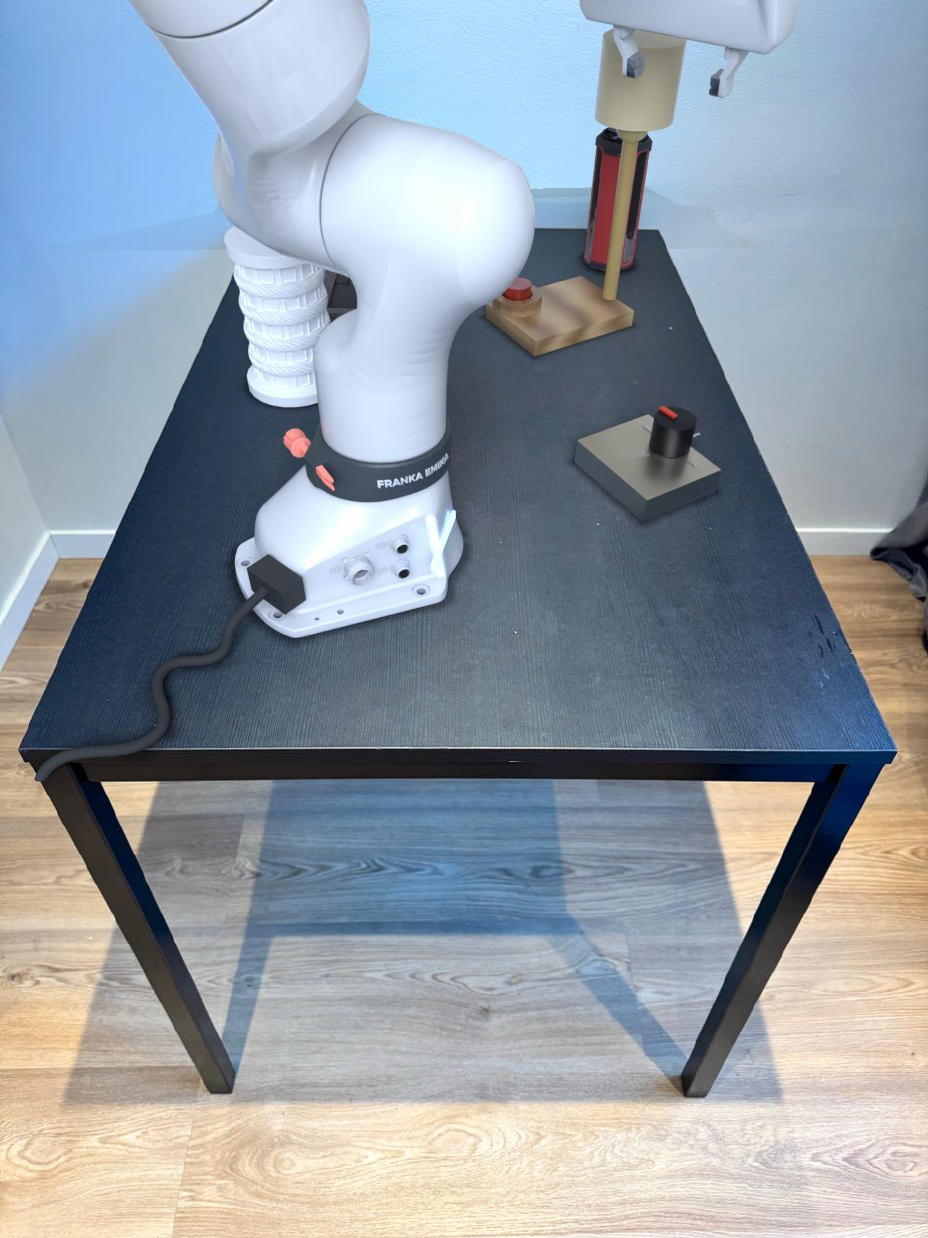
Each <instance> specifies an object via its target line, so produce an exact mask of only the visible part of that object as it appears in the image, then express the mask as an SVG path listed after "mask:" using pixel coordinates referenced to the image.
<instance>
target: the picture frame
mask: <svg viewBox="0 0 928 1238" xmlns="http://www.w3.org/2000/svg"><path fill="white" fill-rule="evenodd" d="M324 270H325V277H324V281H323V282H324V286H325V288H326V291H327V294H328V296H327V297H328V303H327V307H326V309H327V312H328V315H329V317H330V320H331V322H330V323H332V322H333V321H334V320H335V319H337V318H338V317H340V316H341V315H343V314H345V313H347V312H350V311H352V310H355V309H357V293H356V290H355V287H354V285H353V282H352V281H351V279H350V278H349V277H347V276H344V275H341V274H338V273H335V272H332V271H329V270H326V269H324Z"/></svg>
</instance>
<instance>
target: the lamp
mask: <svg viewBox="0 0 928 1238" xmlns="http://www.w3.org/2000/svg"><path fill="white" fill-rule="evenodd" d="M633 35H634V39H635V42H636V45H637V48H638V51H639V52H643V53H645V61H644V65H645V69H644V72H643V74H642V75H641V76H638V78H637V79H635V78H630V77H625V76H623V75H622V67H623V58H622V57H621V55H620V52H619V50H618V48H617V45H616V43H615V41H614V38H613V28H611V29H608V30H606V31H604V32H603V34H602V40H601V41H602V42H601V52H600V60H599V70H598V79H597V86H596V88H597V89H596V98H595V107H594V120H595V121H596V122H597V123H599V124H601V125H603V126H605V127H606V128H608V127H610V128H614V129H616V131H617V134H618V136H619V137H620V138H621V139H622V140H623V143H622V151H621V159H620V166H619V174H618V182H617V189H616V197H615V205H614V212H613V220H612V228H611V235H610V243H609V250H608V258H607V266H606V271H605V276H604V283H603V289H602V290H603V298H604V299H606V300H614V299H615V298H616V299H617V295H618V294H617V293H618V288H619V281H620V280H619V279H620V273H621V271H620V267H621V260H622V253H623V246H624V239H625V232H626V225H627V218H628V211H629V204H630V197H631V190H632V183H633V176H634V169H635V162H636V154H637V147H638V141H640V140H642V139H643V138H644V137H645V136H646V135H647V134H648V133H649V132H655V131H660V130H664V129H667V128H668V127H670V126H672V124H673V123H674V121H675V114H676V107H677V101H678V97H679V96H678V95H679V89H680V84H681V78H682V71H683V66H684V61H685V60H684V59H685V54H686V47H687V42H688V40H687V39H682V38H677V37H672V36H666V35H661V34H656V33H651V32H646V31H641V30H635V31H634V32H633Z"/></svg>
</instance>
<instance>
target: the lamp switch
mask: <svg viewBox="0 0 928 1238" xmlns="http://www.w3.org/2000/svg"><path fill="white" fill-rule="evenodd" d="M531 285H532V281H531V280H530V279H527V278H525V277H524V278H523V277H520V276H518V277H517V278H516V280H515V281H514V282H513V283H512V285H511V286H510V287H509V288H508V289H507V290H506V291H505V292H504V297H505V298H506V299H509V300H512V301H524V300H527V299H530V297H531Z"/></svg>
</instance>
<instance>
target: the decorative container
mask: <svg viewBox="0 0 928 1238" xmlns="http://www.w3.org/2000/svg"><path fill="white" fill-rule="evenodd" d="M223 241H224V246H225V252H226V256H227V257H228V258H229V259H230V260H231V261H233V262H234V267H233V278H234V281H235V283H236V286H237V287H238V289H239V295H238V305H239V308H240V310H241V313H242V314H243V316H244V317H243V318H244V320H243V331H244V335H245V337H246V340H248V342H249V344H248V346H247V347H248V350H247V353H248V359H249V360H250V363H251V366H250V367H249V368H248V370H247V373H246V379H247V385H248V390H249V392H250V393H251V395H252V396H253V397H254V398H255V399H257V400H258V401H260V402H262V403H264V404H267V405H270V406H274V407H281V408H299V407H301V408H302V407H306V406H311V405H314V404H318V399H317V391H316V384H315V376H314V368H313V354H314V350H315V347H316V344H317V342H318V340H319V338H320V337H321V335H322V333H323V332H324V330H325V329H326V328H327V327H328V325H329V324H330V322H331V320H330V317H329V315H328V312H327V309H326V307H327V303H328V297H327V296H328V294H327V291H326V288H325V286H324V282H323V281H324V277H325V270H326V269H322V268H319V267H316V266H313V265H310V264H307V263H304V262H301V261H298V260H295V259H292V258H288V257H285V256H283V255H281V254H279V253H277V252H275V251H274V250H272V249H270V248H268V247H267V246H265V245H263V244H262V243H260V242H258V241H257V240H255V239H254V238H252V237H250V236H249V235H247V234H246V233H244V232H243V231H241V230H240V229H238V228H237V227H236V226H234V225H233V226H231V227H230V228H229V229H228V230H227V231H226V232H225V234H224V236H223Z"/></svg>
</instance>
